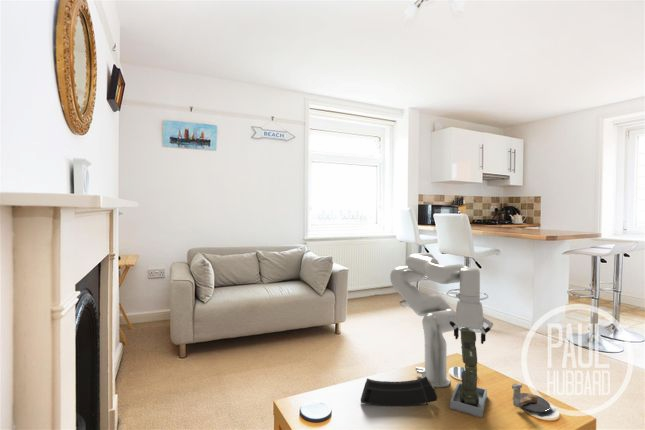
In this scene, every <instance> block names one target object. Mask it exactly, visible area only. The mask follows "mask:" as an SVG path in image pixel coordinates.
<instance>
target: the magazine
mask: <svg viewBox="0 0 645 430" xmlns="http://www.w3.org/2000/svg"><path fill="white" fill-rule="evenodd" d="M429 381H430V380H429ZM429 381H428V379H427V377H425V378H422V379H421V378H417V379H414V380H413V379H412V380H404V381H403V380H402V381H387V380H385V381H383V380H382V381H381V380H374V379H371V378H366V381H365V383H364V387H363V390H362V393H361V397H360V403H361V404H367V405H374V406H385V407H409V406H416V405H423V404H426V405H427V406H429V403H432V402H435V401H438V396H437V391H436V389H435V387H433V385H432V383H431V381H430V382H429Z"/></svg>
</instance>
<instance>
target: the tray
mask: <svg viewBox="0 0 645 430" xmlns="http://www.w3.org/2000/svg"><path fill="white" fill-rule="evenodd" d="M461 388H462V382H457V383H456V386H455V388H454V391H453V393H452V396H451V398H450V402H449V407H450V408H449V409H450V410H453V411H456V412H460V413H462V414H463V413H464V414H467V415H471V416H474V417H478V418H480V419H481V418H483V416H484V411H485V408H486V403H487V398H488V389H486V388H483V387H479V386H477V394H478V396H479V404H478V407H475V406H471V405H468V404H464V403H462V402H460V395H459V393H460V390H461Z"/></svg>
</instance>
